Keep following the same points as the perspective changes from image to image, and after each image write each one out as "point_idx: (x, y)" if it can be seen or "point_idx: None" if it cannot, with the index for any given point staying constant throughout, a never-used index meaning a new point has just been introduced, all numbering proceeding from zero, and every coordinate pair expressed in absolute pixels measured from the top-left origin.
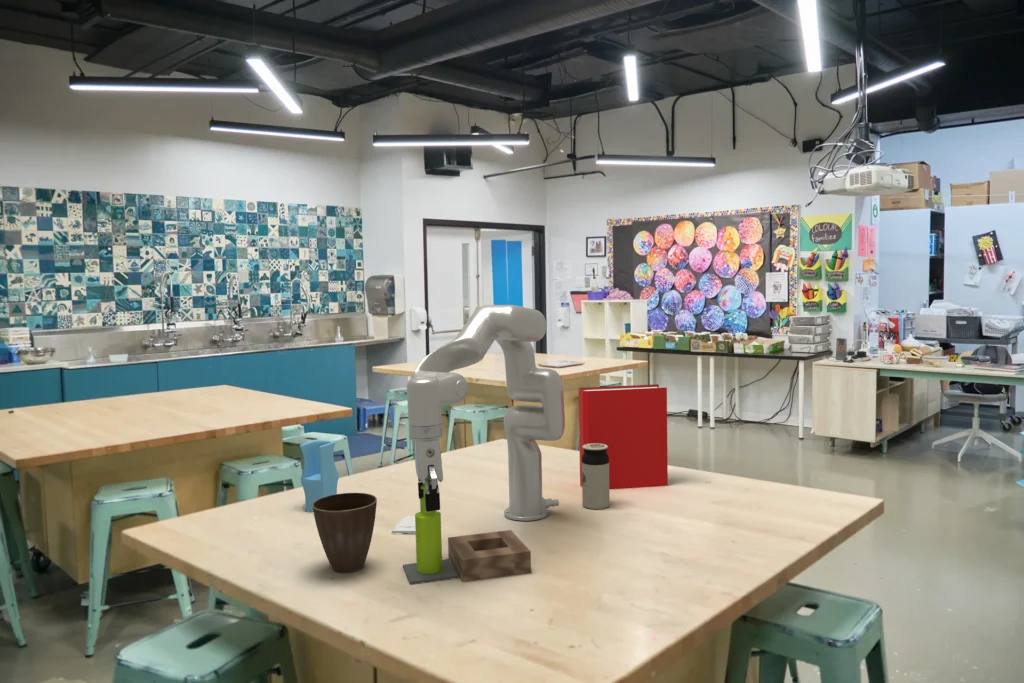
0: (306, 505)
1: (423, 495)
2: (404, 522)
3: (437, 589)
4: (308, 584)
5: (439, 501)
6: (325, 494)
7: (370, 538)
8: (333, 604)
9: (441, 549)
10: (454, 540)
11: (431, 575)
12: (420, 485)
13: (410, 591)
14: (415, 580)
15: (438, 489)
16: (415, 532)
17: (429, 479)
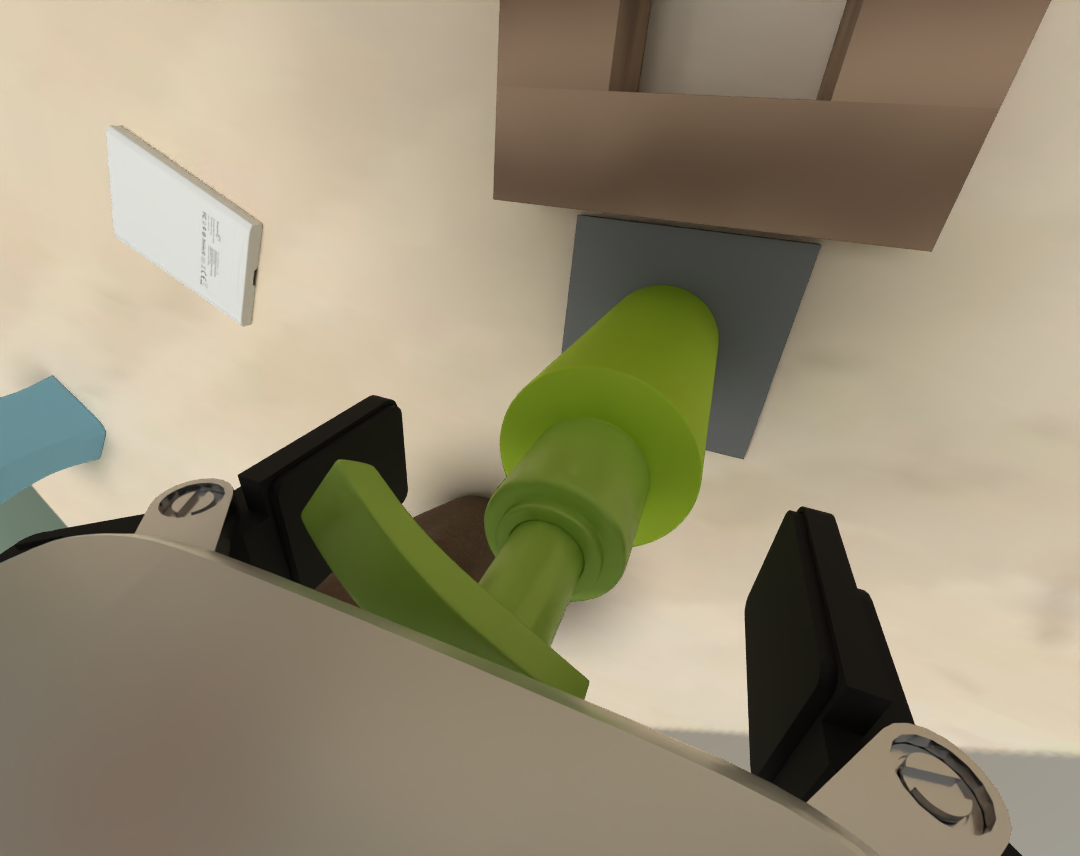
0: (80, 462)
1: (388, 484)
2: (168, 256)
3: (882, 385)
4: (565, 647)
5: (849, 583)
6: (34, 441)
7: (472, 556)
8: (746, 673)
9: (682, 314)
10: (555, 177)
11: (733, 362)
12: (319, 569)
13: (814, 479)
14: (744, 437)
15: (1001, 848)
16: (253, 246)
17: (231, 510)
